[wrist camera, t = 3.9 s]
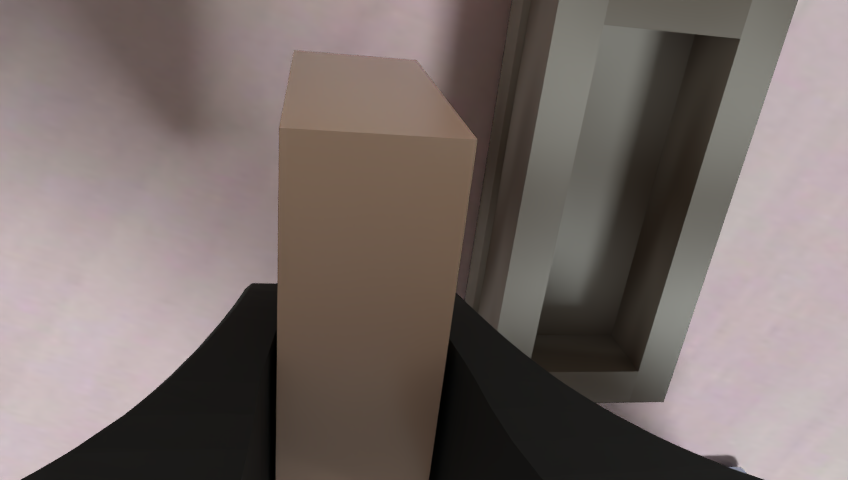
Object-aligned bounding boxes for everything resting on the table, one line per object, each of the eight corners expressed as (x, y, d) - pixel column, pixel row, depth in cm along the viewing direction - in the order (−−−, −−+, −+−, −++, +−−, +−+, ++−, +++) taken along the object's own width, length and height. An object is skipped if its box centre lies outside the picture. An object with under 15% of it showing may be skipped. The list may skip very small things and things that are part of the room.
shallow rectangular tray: (628, 347, 23) (669, 401, 21) (457, 347, 22) (477, 404, 20) (735, -18, 18) (807, -8, 15) (519, -44, 17) (557, -37, 14)
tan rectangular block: (382, 407, 15) (410, 607, 11) (287, 409, 15) (274, 617, 10) (416, 60, 12) (477, 139, 7) (293, 49, 11) (278, 128, 7)
